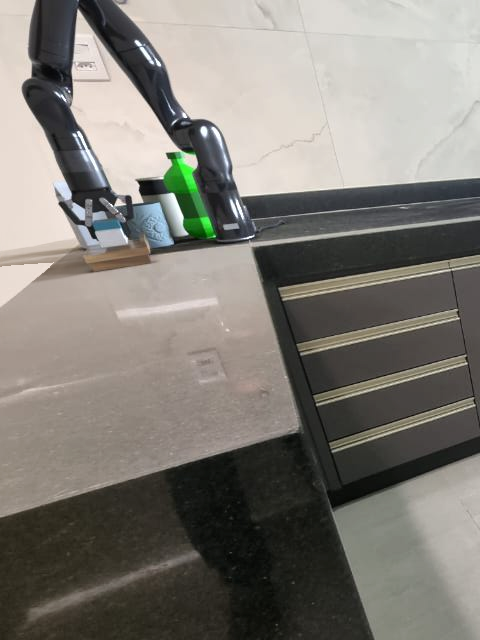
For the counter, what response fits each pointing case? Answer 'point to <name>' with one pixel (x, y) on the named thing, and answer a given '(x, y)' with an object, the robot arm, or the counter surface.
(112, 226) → the two-tone teal block
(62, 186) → the milk carton
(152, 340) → the counter surface
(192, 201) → the plastic bottle
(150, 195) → the travel mug
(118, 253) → the wooden tray
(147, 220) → the blue embossed mug
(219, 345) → the counter surface
